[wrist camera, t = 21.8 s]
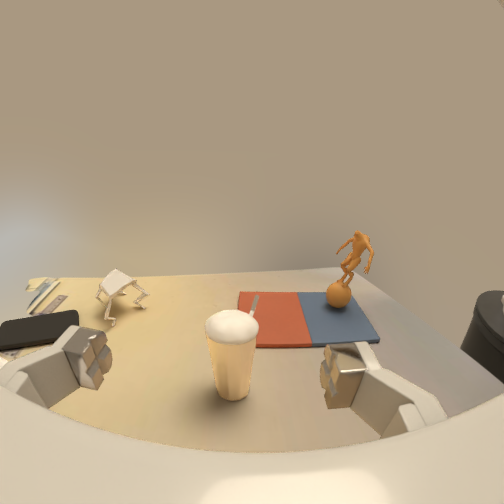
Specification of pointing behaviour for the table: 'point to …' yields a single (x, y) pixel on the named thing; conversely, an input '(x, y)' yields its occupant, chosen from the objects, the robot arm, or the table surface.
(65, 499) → the robot arm
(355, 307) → the sorting board
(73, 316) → the phone
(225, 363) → the milkshake
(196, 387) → the table surface
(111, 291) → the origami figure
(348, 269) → the figurine
